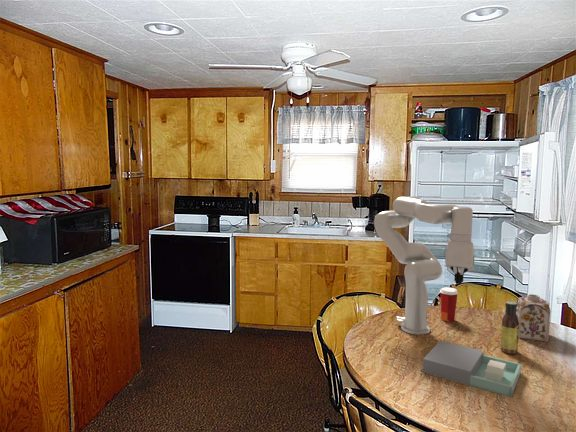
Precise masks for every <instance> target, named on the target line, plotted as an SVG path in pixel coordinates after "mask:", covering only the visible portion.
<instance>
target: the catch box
mask: <svg viewBox="0 0 576 432" xmlns="http://www.w3.org/2000/svg"><path fill="white" fill-rule="evenodd" d="M490 360H493V361H497V362H501V363H505V364H506V371H505V373H504V377H503V379H502V381H501V382H498V381H494V380H490V379H487V378H485V372H486V370H487V364H488V363H489V361H490ZM521 371H522V363H520V362H519V363H518V362H514V361H510V360H506V359H502V358H498V357H495V356H490V355H486V354H483V363H482V365H481V366H480V368H479V370H478V371H477V373H476V375H475V376H473V375H471V376H470V386H469V387H474V388H477V389H480V390H483V391H488V392H490V393H493V394H494V393H495V394H498V395H501V396H505V397H509V398H512V396H513V394H514V391H515V390H516V387H517V384H518V380H519V378H520V376H521V373H522V372H521Z"/></svg>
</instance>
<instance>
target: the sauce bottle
mask: <svg viewBox="0 0 576 432" xmlns="http://www.w3.org/2000/svg"><path fill="white" fill-rule="evenodd" d="M516 308H517V303H516V301H515V302H514V301H506V302H505V314H504V315H503V316H502V318H501V326H500V327H501V333H500V350H501V352H503V353H506V354H510V355H514V354H517V353H518V350H519V341H520V340H519V339H520V338H519V321H518V318H517V314H516Z"/></svg>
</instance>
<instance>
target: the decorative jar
mask: <svg viewBox="0 0 576 432" xmlns="http://www.w3.org/2000/svg"><path fill="white" fill-rule="evenodd" d="M515 303H517V308H516V314H517V318H518V321H519V339H525V340H532V341H538V342H540V341H541V342H546V343H547V342H549V338H550V323H551V307H550V304H549V301H547V299H546V300H545V299H544V298H540V295H537V294H533V293H532V294H530V293H529V294H527V295H526V296H521V297H518V298H517V299H516V301H515Z"/></svg>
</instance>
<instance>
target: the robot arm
mask: <svg viewBox="0 0 576 432" xmlns="http://www.w3.org/2000/svg"><path fill="white" fill-rule="evenodd" d="M473 213H474V210H473V209H472V207H470V206H469V207H468V206H460V205H456V204H439V205H438V204H437V205H436V204H435V205H433V204H429V203H428V202H427V201H426V200H425V199H422V198H421V197H419V196H415V195H414V196H409V195H408V196H399V197H397V198H396V199H394V201H393V202H392V210H384V211H381V212H379V213H377V214H376V215H375V216H374V221H373V225H374V230H375V232H376V234H377V235H378V237H379V238H380V239H381V240H382V241H383V242H384V244H385V245H386V246H387V247H388V249H389V250H390V251H391V253H392V254H393V256H394V257H395V259H396V260H397V261H398V262H399V263H400V264H403V265H405V267H404V270H403V271H404V272H403V273H404V278H405V306H404V307H405V308H404V309H405V311H404V312H405V313H404V316H403V317H401V316H398V315H397V316H396V322H397V323H401V325H400V328H401V330H402V331H403V332H405V333H407V334H412V335H416V336H417V335H422V336H423V335H427V334H430V332H431V328H430V326H428V305H429V304H428V303H429V289H428V288H427V286H426V284H425V282H429V281H435V280H438V279H440V277H441V276H442V275H443V267H442V264H441V263H440V261H439V260H438V259H437V258H436V256H435V255H434V254H433V252H432V251H431V250H430V249H429V247H428V246H426V244H424V243H422V242H417V241H416V242H409V241H407V240H406V239H405V237H404V236H403V235H402V234H401V233H400V232H399V231H397V230H396V229H398V228H405V227H407V226H409V225H410V224H411V223H412V222H413V221H414V220H415V219H416V220H418V221H419V222H423V223H426V224H432V225H440V224H451V225H450V226H451V228H450V229H451V231H450V233H447V234H446V235H447V236H446V237H447V238H449V240H448V241H447V246H446V250H445V261H444V262H445V265H444V267H445V268H448V269H450V270H451V271H452V272H453V274H454V282H455V284H456V285H461V284H463V282H464V274H466V273H467V272H472V271H475V266H474V264H475V246H474V242H473V241H472V234H473V233H472V231H473V215H474V214H473Z"/></svg>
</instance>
